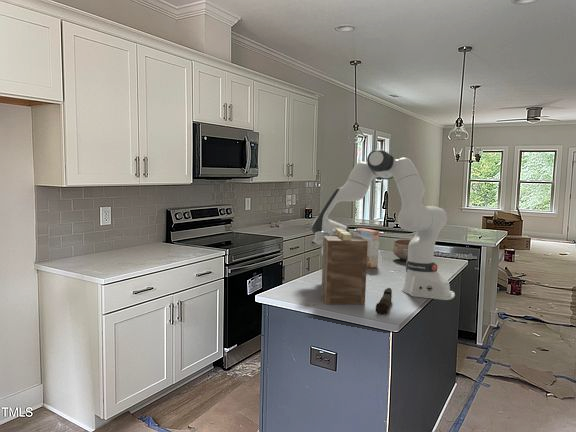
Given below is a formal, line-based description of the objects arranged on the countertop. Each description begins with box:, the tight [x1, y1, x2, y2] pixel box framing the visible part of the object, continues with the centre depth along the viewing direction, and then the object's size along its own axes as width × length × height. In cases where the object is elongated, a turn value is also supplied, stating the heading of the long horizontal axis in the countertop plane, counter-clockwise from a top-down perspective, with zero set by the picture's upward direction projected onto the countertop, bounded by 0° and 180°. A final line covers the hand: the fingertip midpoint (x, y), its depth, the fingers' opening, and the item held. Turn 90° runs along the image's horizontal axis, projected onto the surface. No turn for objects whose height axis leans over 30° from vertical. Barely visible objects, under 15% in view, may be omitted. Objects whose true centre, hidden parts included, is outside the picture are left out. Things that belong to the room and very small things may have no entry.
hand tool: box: [374, 287, 393, 315], centre depth 178 cm, size 23×5×6 cm, turn 158°
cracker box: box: [355, 227, 380, 269], centre depth 255 cm, size 14×6×21 cm, turn 32°
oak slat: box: [335, 228, 352, 240], centre depth 188 cm, size 20×3×2 cm, turn 4°
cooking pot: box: [392, 238, 413, 262], centre depth 273 cm, size 25×19×12 cm
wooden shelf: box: [321, 236, 368, 305], centre depth 185 cm, size 12×16×26 cm
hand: (340, 231), depth 194 cm, fingers closed on oak slat, 3 cm apart
